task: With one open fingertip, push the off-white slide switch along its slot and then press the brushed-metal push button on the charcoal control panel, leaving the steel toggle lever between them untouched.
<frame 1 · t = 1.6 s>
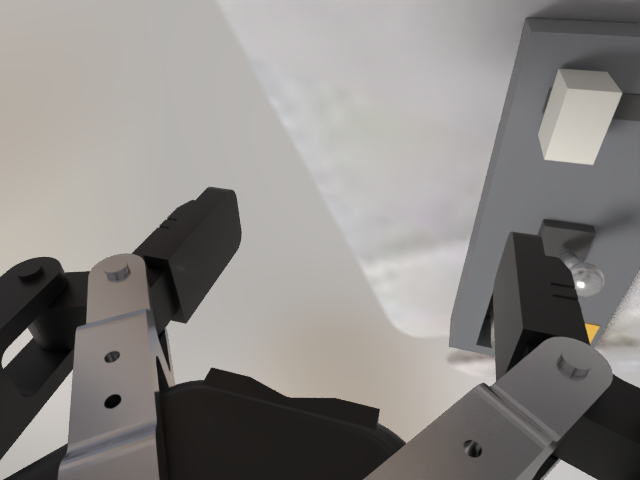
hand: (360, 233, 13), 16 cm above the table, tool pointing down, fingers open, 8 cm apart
toggle: (576, 269, 22), point 7 cm above the table, hinge at -20.0°
slider: (575, 115, 20), point 5 cm above the table, slide at 0.0 cm
button: (525, 329, 30), point 3 cm above the table, slide at 0.0 cm
panel: (553, 212, 28), on the table
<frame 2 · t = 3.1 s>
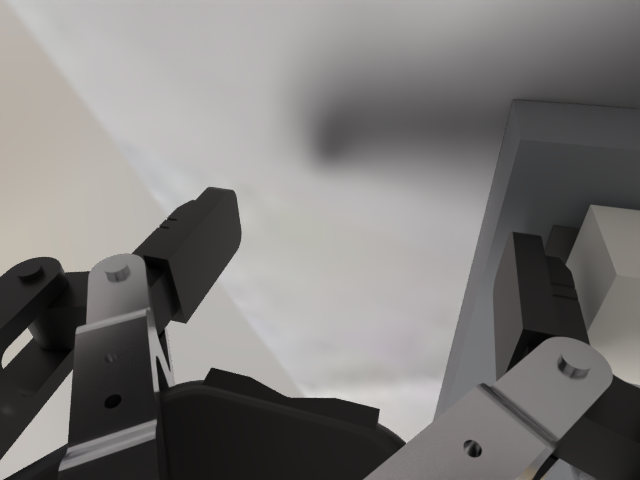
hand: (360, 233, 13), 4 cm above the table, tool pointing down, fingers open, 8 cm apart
slider: (623, 293, 11), point 5 cm above the table, slide at 0.5 cm, touching gripper
panel: (560, 359, 19), on the table
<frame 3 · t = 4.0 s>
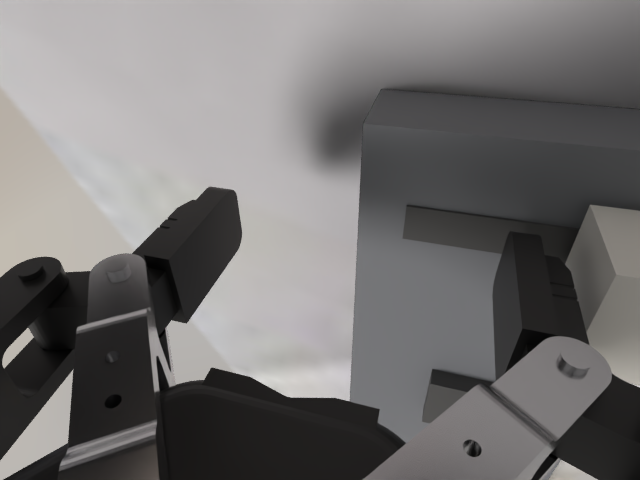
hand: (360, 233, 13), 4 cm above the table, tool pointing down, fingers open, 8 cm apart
slider: (622, 293, 11), point 5 cm above the table, slide at 4.6 cm, touching gripper
panel: (462, 340, 20), on the table
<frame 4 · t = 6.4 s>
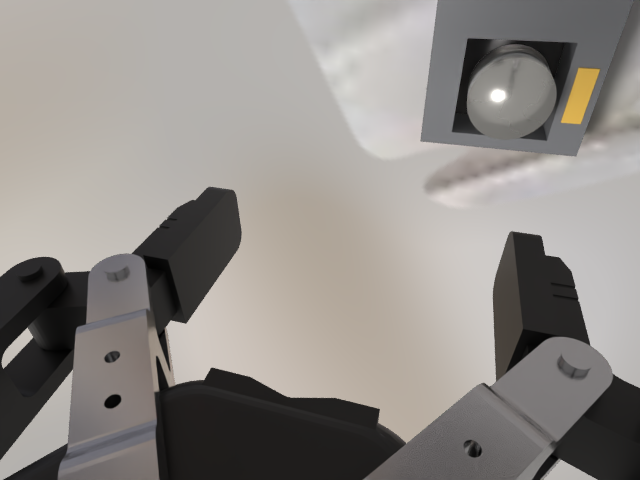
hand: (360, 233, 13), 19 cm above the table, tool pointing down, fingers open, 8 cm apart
button: (509, 92, 25), point 3 cm above the table, slide at 0.0 cm
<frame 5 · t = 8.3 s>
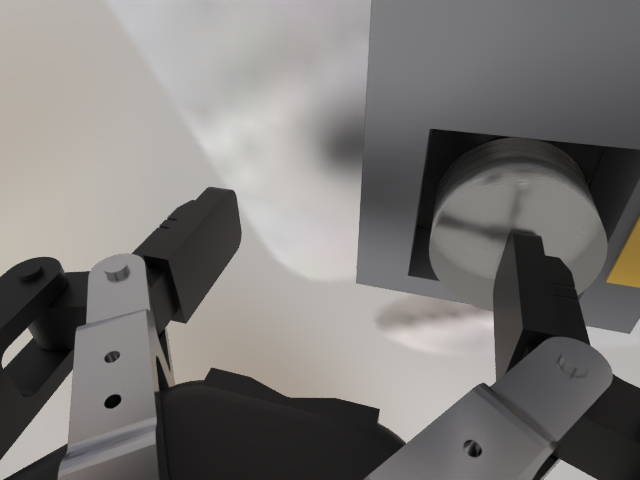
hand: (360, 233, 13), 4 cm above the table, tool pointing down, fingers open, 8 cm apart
button: (509, 226, 13), point 3 cm above the table, slide at 0.0 cm, touching gripper
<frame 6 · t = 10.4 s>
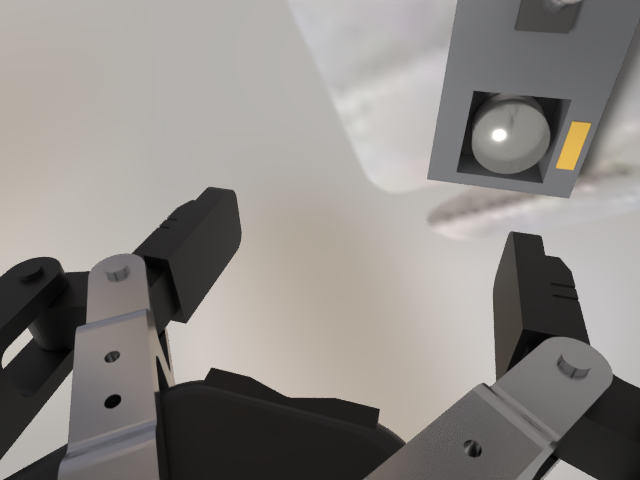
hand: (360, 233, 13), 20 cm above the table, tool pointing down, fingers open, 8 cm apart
button: (508, 133, 28), point 2 cm above the table, slide at 1.1 cm
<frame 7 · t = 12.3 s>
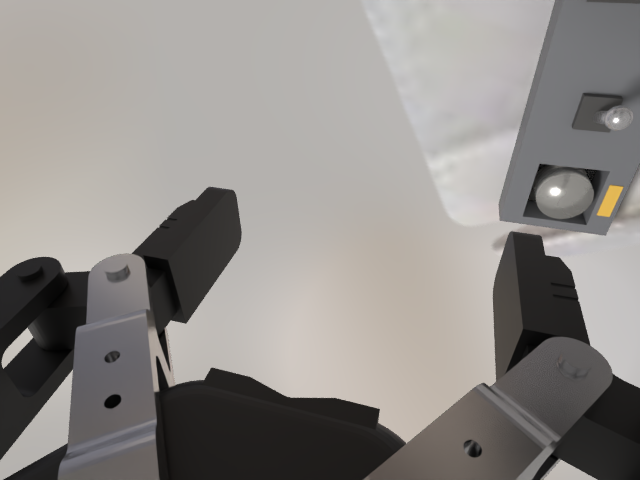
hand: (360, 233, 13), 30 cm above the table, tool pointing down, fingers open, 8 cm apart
toggle: (610, 117, 31), point 7 cm above the table, hinge at -20.0°
button: (562, 189, 39), point 2 cm above the table, slide at 1.1 cm
panel: (587, 98, 36), on the table
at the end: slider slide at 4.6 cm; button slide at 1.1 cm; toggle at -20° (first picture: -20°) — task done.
